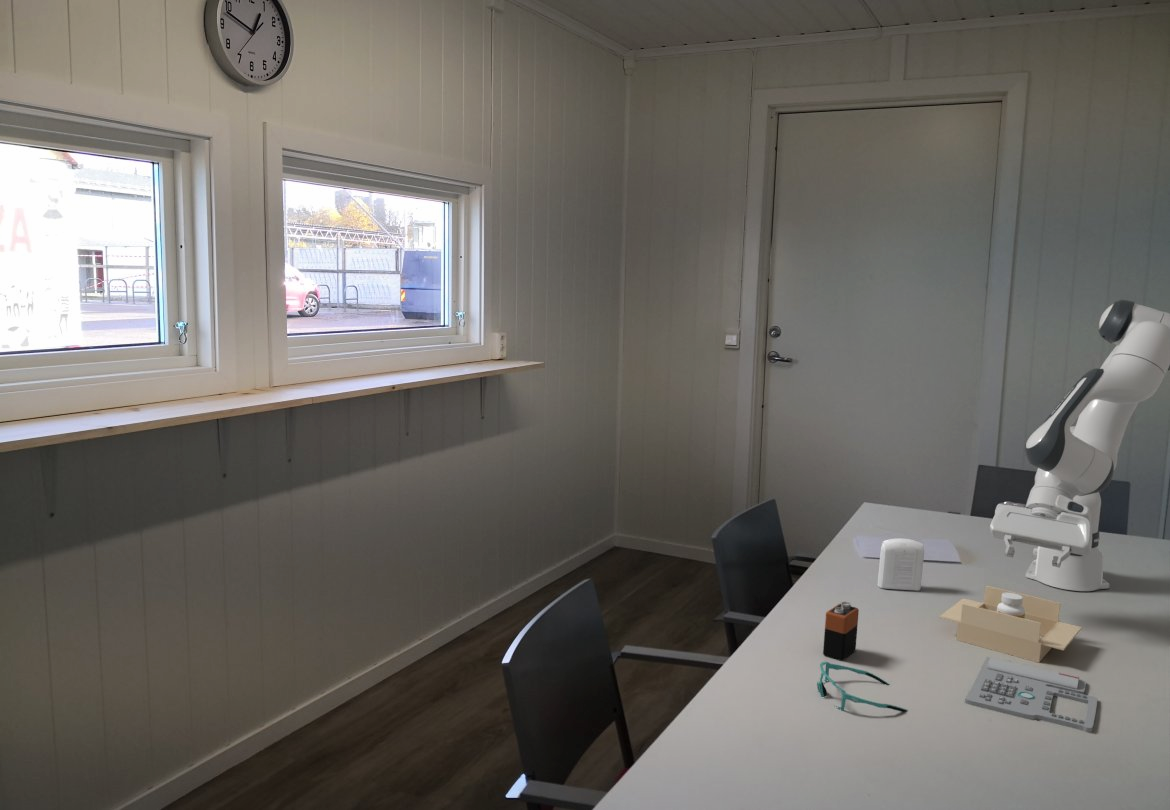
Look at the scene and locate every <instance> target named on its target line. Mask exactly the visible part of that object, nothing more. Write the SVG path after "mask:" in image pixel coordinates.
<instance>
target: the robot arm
mask: <svg viewBox="0 0 1170 810" xmlns="http://www.w3.org/2000/svg"><path fill="white" fill-rule="evenodd" d="M1098 324H1099V325H1098V327H1099V328H1098V333H1099V336H1100V337H1101V338H1102V339H1103V340H1105V341H1106V342H1107V343H1110V344H1114V345H1115V347H1114V348H1113V350H1111V352H1110V353H1109V355H1108V356H1107V357H1106V359H1105V360H1104V362H1103V363H1102V364H1101V366H1100V368H1092V369H1090V370H1088V371H1087V372H1086V373H1085V374H1083V375H1082V376H1081V377H1080V378H1079V379H1078V380H1077V381H1076V382H1075V384H1074V385H1073V386H1072V387H1071V388H1070V389H1069V391H1068V392H1067V393H1066V394H1065V396H1063V398H1062V399H1061V401H1060V402H1059V403H1058V404H1057V405H1056V406H1055V408H1054V409H1053V410H1052V412H1051V413H1050V414H1049V415H1048V416H1047V418H1046V419H1044V421H1043V422H1042V423H1041V424H1040V425H1039V426H1037V428H1036V429H1035V430H1034V431H1033V432H1032V433H1030V435H1029V436H1028V438H1027V440H1026V442H1025V445H1024V451H1025V456H1026V458H1027V461H1028V462H1029V464H1030V465H1032V466H1034V467H1036V468H1037V470H1036V473H1035V476H1034V484H1033V487H1032V488H1031V489H1030V491H1029V495H1028V498H1027V500H1026V504H1025V503H1018V502H1012V501H1009V500H1008V501H1004V502H1000V503H998V504H997V505H996V507H995V510H994V516H993V518H992V520H991V522H990V523H989V524H990V525H989V531H990V534H991V535H992V537H993V538H996V539H999V540H1003V541H1004V545H1005V552H1004V554H1005V555H1004V556H1005V557H1007V558H1014V555H1015V553H1016V551H1015V547H1014V546H1011V545H1012V544H1013V543H1020V544H1025V545H1030V546H1036V547H1033V550H1032V557H1034V558H1036V559H1034V560H1032V562H1031V563H1030V565H1029V567H1028V568H1027V570H1026V572H1025V577H1026V578H1027V579H1031V580H1035V581H1037V582H1039V583H1042V584H1044V585H1047V586H1050V587H1054V588H1057V589H1061V590H1067V591H1074V592H1075V591H1076V592H1093V591H1097V590H1102V589H1103V590H1105V589H1110V583H1109V582H1107V581H1106V580H1105V579H1104V577H1103V576H1104V575H1103V573H1104V564H1105V563H1104V561H1105V560H1104V559H1105V555H1104V553H1102V552H1101V551H1100V550H1099V548H1098V546H1099V544H1100V531H1099V523H1100V515H1101V508H1102V507H1101V506H1102V498H1101V495H1100V493H1101V492H1102V491H1104V490H1106V488H1108V487H1109V484H1111V482H1112V479H1113V476H1114V471H1115V469H1116V468H1117V466H1118V465H1117V464H1118V455H1119V450H1120V447H1121V444H1122V441H1123V438H1124V435H1125V432H1126V429H1127V426H1128V424H1129V422H1130V419H1131V417H1132V415H1133V413H1134V412H1135V410H1136V408H1137V406H1138V404H1139V403H1141V402H1144V401H1146V400H1148V399H1149V398H1151V397H1153V396H1154V394H1155V393H1156V392H1157V390H1158V389H1159V388H1160V386H1161V383H1162V382H1163V380H1164V378H1165V376H1166V374H1167V372H1168V371H1170V313H1168V312H1167V311H1161V310H1158V309H1156V308H1153V307H1149V306H1145V305H1142V304H1137V303H1135V301H1132V300H1127V299H1119V300H1116V301H1113V303H1112V304H1111V305H1109V306H1108V307H1107V308H1106V309H1105V310H1104V311H1103V313H1102V314H1101V316H1100V319H1099V323H1098ZM1076 420H1077V421H1076ZM1075 421H1076V424H1075V426H1074V425H1073V424H1074V423H1075ZM1072 425H1073V426H1072Z"/></svg>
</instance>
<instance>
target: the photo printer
mask: <svg viewBox="0 0 1170 810" xmlns="http://www.w3.org/2000/svg"><path fill="white" fill-rule="evenodd" d="M880 547H881V548H880V553H879V555H880V556H879V565H878V576H877V587H879V589H888V590H901V591H905V590H906V591H917V592H918V591H921V586H922V578H923V577H922V576H923V569H924V568H923V567H924V556H925V546H924V544H923V543H921V542H919V541H918V540H913V539H911V538H910V539H909V538H900V537H899V538H890V539H885V540H883V541H882V542H881V546H880Z"/></svg>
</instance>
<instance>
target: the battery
mask: <svg viewBox="0 0 1170 810" xmlns="http://www.w3.org/2000/svg"><path fill="white" fill-rule="evenodd" d="M859 611H860V610H859V608H858V607H855V606H852V604H851V602H849V601H841V602H840V603H838V604H836V605H835V606H833V607H831V609H829V610H827V611H826V613H825V622H824V636H823V638H824V639H823V650H822V654H823V655H824V656H825V655H826V656H825V657H828V656H829V657H828V658H831V659H835V660H838V659H839V661H844V660H845V659H847V657H849V656H850V655H852V654H853V653H854V652H855V651H856V648H857V638H858V637H857V636H858V623H859Z"/></svg>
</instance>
